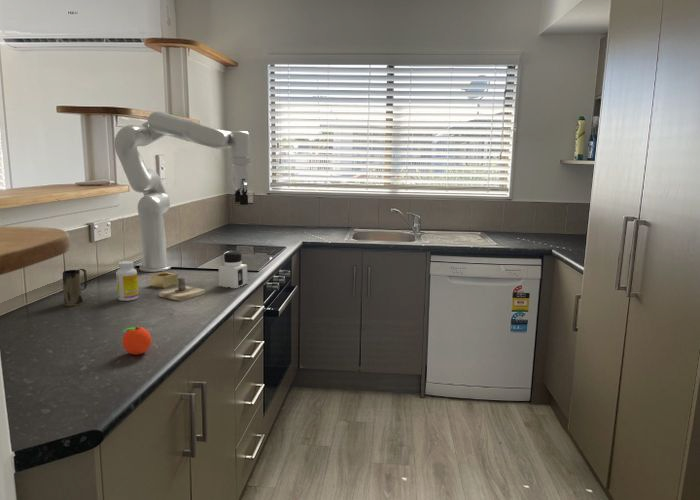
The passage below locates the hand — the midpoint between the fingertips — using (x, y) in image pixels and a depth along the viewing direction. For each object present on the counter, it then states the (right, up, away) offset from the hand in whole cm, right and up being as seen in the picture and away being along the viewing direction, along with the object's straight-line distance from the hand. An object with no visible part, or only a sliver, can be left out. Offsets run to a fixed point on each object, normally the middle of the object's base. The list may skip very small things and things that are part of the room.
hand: (241, 203), depth 222 cm
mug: (-45, -38, -45) cm, 74 cm away
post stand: (-14, -35, -33) cm, 51 cm away
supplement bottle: (-31, -36, -38) cm, 61 cm away
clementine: (-10, -46, -86) cm, 98 cm away
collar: (-25, -33, -20) cm, 46 cm away
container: (+1, -33, -20) cm, 38 cm away
